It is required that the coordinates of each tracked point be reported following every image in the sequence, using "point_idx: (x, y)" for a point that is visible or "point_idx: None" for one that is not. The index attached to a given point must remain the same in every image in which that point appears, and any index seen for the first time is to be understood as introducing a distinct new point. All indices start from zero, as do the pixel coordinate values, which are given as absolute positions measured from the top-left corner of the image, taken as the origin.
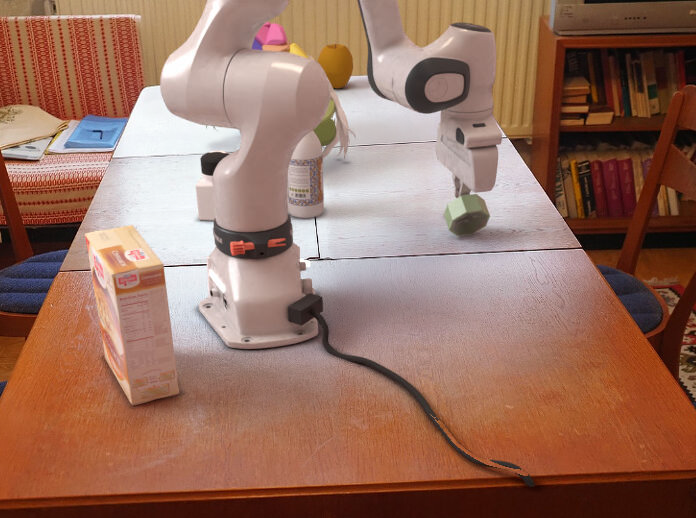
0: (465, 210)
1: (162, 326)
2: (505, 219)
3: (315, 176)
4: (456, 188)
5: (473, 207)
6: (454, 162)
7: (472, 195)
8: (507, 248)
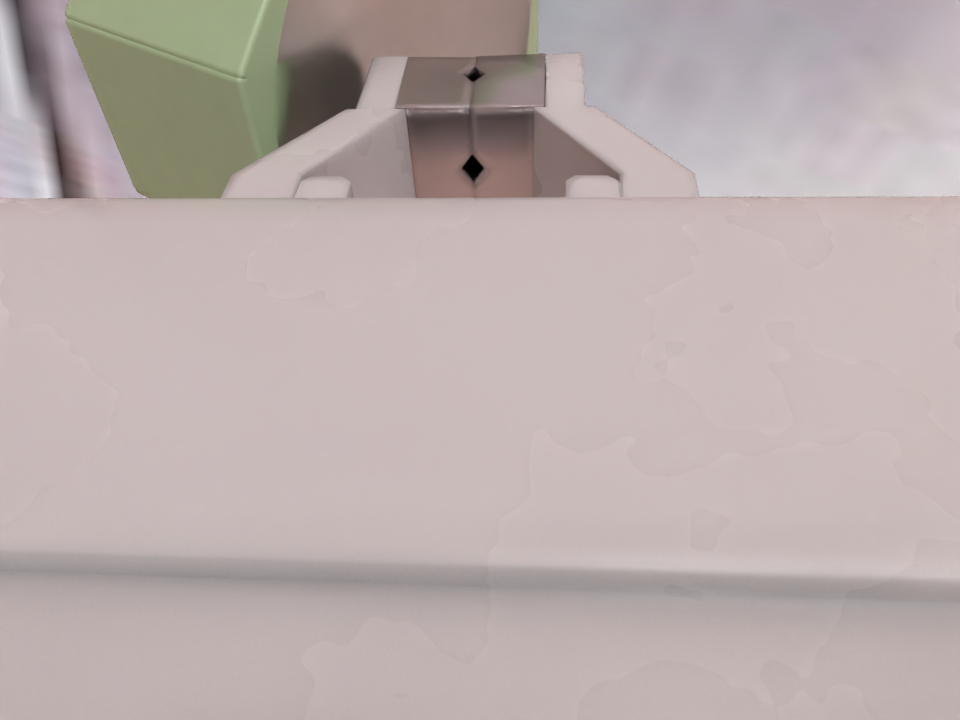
0: (78, 17)
1: None
2: None
3: None
4: (537, 118)
5: (135, 129)
6: (396, 366)
7: None
8: (115, 170)
